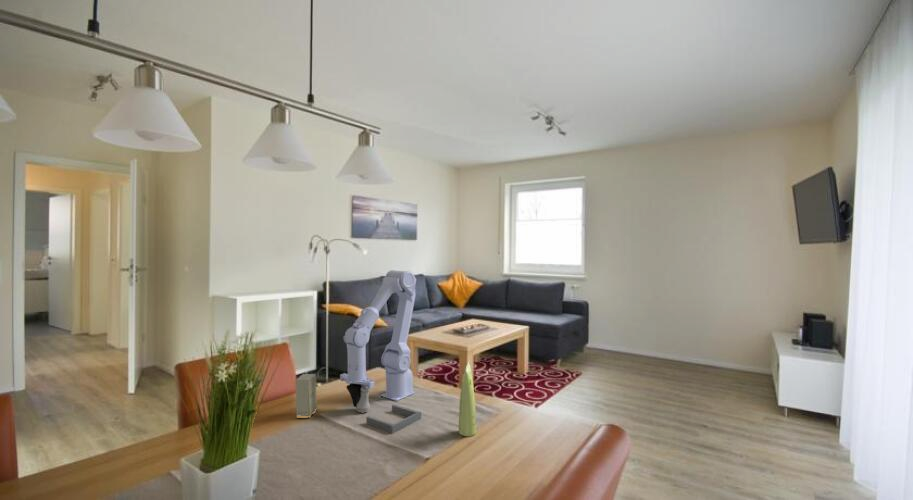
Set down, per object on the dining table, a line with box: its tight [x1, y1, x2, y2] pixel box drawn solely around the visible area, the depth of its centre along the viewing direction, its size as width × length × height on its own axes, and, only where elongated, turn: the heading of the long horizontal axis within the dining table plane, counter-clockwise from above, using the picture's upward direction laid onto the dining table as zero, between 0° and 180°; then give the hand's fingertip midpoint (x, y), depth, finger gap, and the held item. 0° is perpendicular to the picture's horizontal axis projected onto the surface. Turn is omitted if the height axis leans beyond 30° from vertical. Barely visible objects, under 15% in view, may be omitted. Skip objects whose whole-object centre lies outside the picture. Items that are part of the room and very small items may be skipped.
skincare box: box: [295, 373, 318, 416], centre depth 132 cm, size 6×4×12 cm
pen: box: [365, 404, 422, 434], centre depth 127 cm, size 12×11×2 cm
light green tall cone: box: [458, 360, 477, 437], centre depth 118 cm, size 6×5×20 cm
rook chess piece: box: [355, 385, 372, 414], centre depth 134 cm, size 4×4×8 cm
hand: (357, 406), depth 136 cm, fingers closed
